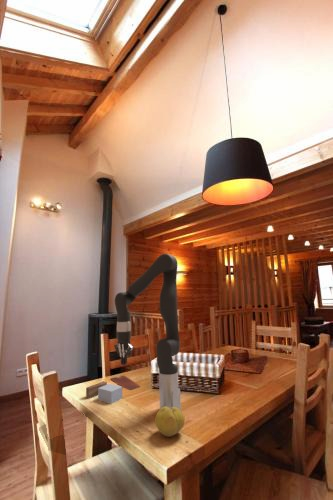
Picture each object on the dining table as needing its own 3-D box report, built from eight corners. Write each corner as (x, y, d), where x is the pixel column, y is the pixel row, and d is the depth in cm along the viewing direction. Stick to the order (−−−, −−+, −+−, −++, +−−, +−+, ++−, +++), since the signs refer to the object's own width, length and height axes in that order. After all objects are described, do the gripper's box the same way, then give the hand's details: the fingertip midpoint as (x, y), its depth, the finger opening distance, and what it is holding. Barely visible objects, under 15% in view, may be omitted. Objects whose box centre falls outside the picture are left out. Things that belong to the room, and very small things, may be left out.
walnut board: (106, 391, 149) (107, 382, 150) (89, 398, 139) (89, 388, 140) (103, 390, 151) (103, 381, 151) (86, 397, 141) (86, 387, 142)
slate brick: (122, 398, 139) (122, 386, 140) (111, 404, 132) (111, 391, 133) (109, 395, 144) (109, 383, 145) (98, 400, 137) (98, 388, 138)
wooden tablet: (109, 380, 170) (109, 377, 170) (123, 377, 176) (123, 374, 176) (127, 392, 149) (127, 389, 149) (142, 388, 154) (142, 385, 155)
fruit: (179, 445, 95) (178, 415, 96) (150, 439, 99) (150, 411, 100) (188, 430, 105) (187, 403, 106) (161, 425, 109) (161, 400, 111)
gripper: (137, 330, 137) (138, 364, 134) (120, 328, 145) (120, 361, 142) (127, 332, 131) (127, 368, 128) (110, 330, 139) (109, 364, 136)
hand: (123, 364), depth 135 cm, fingers closed
